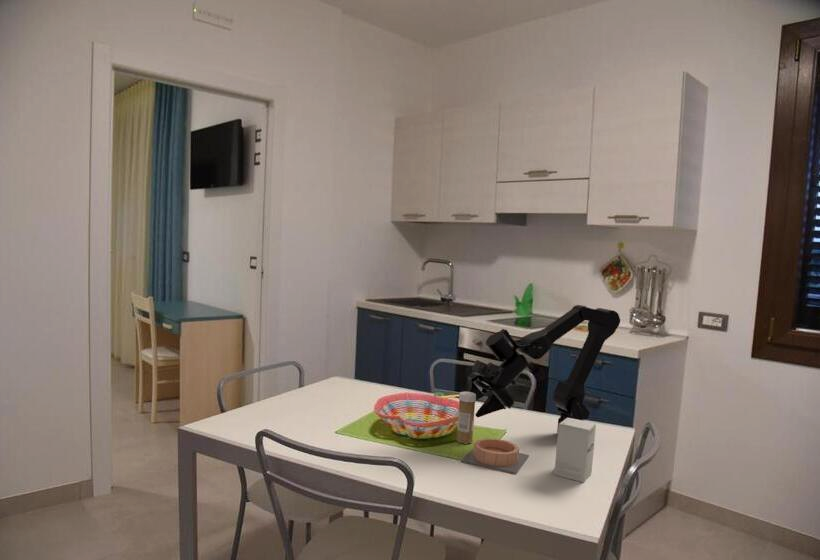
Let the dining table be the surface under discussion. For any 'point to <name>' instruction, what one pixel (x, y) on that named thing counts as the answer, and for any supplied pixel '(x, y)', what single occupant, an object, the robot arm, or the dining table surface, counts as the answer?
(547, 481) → the dining table surface
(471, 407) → the sprinkles bottle
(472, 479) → the dining table surface
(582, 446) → the supplement box
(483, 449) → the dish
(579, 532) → the dining table surface
